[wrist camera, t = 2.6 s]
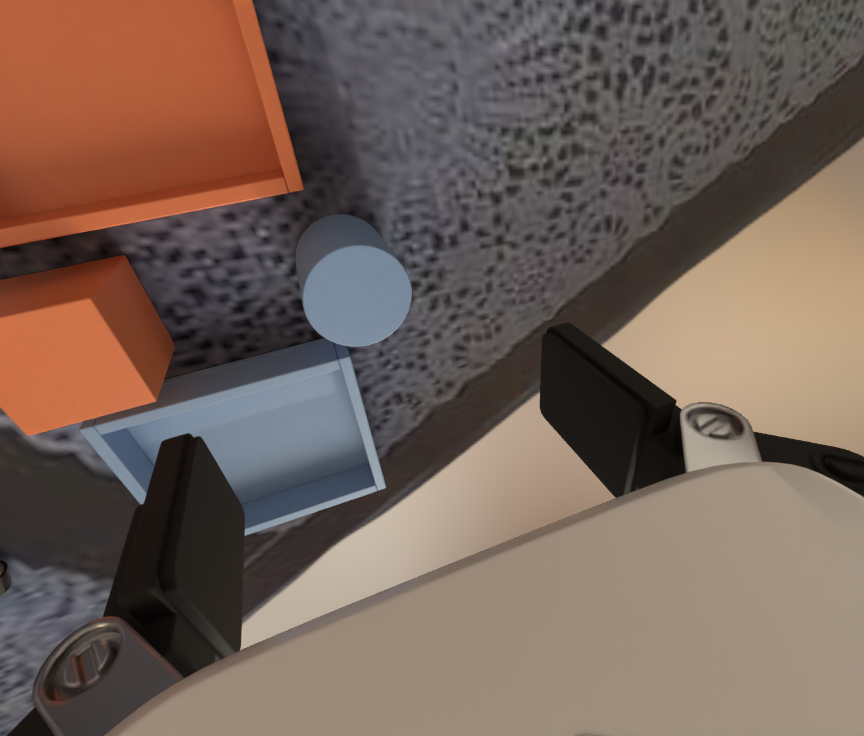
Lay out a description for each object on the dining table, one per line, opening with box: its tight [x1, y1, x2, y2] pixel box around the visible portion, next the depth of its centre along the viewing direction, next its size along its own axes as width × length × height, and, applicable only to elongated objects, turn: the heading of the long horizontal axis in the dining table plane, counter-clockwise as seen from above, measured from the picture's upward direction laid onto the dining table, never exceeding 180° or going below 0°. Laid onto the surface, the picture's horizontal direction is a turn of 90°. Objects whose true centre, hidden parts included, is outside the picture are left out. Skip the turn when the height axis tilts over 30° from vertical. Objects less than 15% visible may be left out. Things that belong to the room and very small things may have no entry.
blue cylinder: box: [295, 214, 412, 346], centre depth 19 cm, size 4×4×5 cm
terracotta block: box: [0, 255, 175, 436], centre depth 17 cm, size 5×5×5 cm
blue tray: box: [79, 338, 386, 535], centre depth 24 cm, size 12×10×2 cm
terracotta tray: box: [0, 0, 304, 248], centre depth 13 cm, size 12×10×2 cm
